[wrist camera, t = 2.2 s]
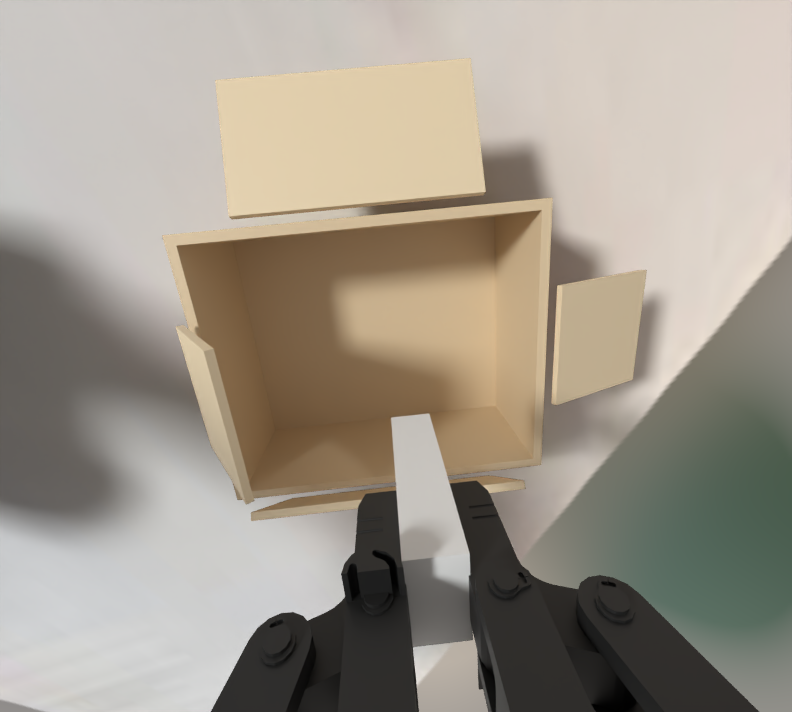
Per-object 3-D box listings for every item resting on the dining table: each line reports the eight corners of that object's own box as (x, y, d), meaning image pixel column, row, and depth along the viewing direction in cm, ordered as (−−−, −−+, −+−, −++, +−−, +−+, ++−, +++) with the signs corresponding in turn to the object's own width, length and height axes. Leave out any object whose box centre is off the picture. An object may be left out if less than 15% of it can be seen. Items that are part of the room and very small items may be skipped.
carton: (271, 434, 34) (237, 500, 26) (225, 235, 29) (162, 235, 20) (500, 408, 35) (541, 464, 26) (500, 208, 29) (552, 197, 21)
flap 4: (632, 379, 27) (627, 378, 27) (646, 270, 24) (640, 269, 25) (555, 405, 24) (551, 403, 25) (562, 285, 22) (557, 285, 22)
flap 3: (292, 498, 26) (292, 504, 25) (251, 512, 18) (251, 521, 18) (489, 475, 26) (490, 481, 26) (524, 480, 19) (525, 488, 19)
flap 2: (215, 80, 20) (218, 85, 20) (228, 216, 20) (231, 219, 20) (470, 57, 20) (468, 64, 20) (485, 191, 20) (483, 195, 20)
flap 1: (217, 443, 24) (211, 445, 24) (183, 325, 21) (175, 326, 21) (254, 500, 18) (246, 504, 18) (213, 348, 16) (203, 351, 15)
